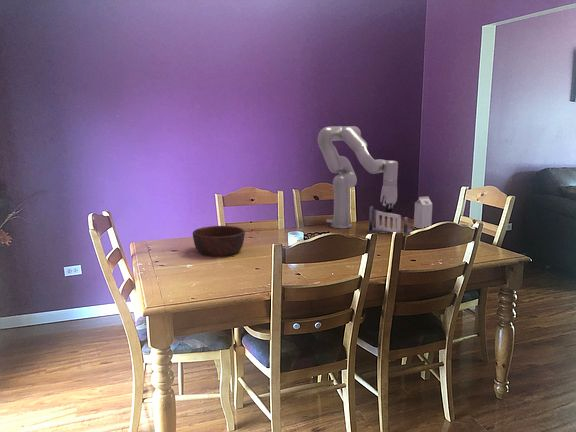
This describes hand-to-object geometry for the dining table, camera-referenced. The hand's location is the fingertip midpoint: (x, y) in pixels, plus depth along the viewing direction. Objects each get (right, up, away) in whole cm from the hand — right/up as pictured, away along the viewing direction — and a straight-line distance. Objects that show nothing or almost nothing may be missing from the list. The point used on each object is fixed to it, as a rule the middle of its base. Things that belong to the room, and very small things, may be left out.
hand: (388, 215), depth 283 cm
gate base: (+2, -9, +5) cm, 11 cm away
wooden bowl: (-90, -18, -37) cm, 99 cm away
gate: (-1, -8, -1) cm, 9 cm away
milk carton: (+22, -8, +13) cm, 27 cm away
